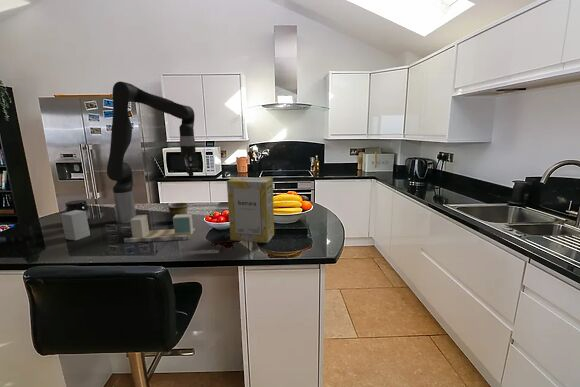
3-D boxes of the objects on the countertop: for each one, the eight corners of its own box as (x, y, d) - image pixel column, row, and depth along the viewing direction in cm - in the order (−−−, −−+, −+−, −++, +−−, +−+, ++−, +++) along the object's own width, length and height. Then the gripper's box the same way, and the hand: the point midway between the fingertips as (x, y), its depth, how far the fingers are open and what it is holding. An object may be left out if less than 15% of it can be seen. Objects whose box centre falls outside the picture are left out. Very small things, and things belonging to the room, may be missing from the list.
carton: (139, 232, 137) (136, 215, 135) (149, 232, 137) (146, 214, 135) (132, 238, 129) (129, 220, 127) (143, 238, 130) (140, 219, 128)
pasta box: (230, 239, 130) (226, 181, 124) (239, 231, 140) (236, 177, 134) (267, 242, 126) (265, 182, 120) (274, 234, 136) (272, 178, 130)
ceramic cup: (192, 221, 156) (191, 204, 154) (175, 226, 149) (173, 208, 147) (181, 217, 165) (180, 200, 163) (164, 221, 158) (162, 204, 156)
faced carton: (174, 235, 132) (172, 217, 130) (177, 232, 137) (175, 214, 135) (191, 235, 133) (189, 217, 131) (193, 231, 137) (191, 214, 135)
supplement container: (63, 224, 155) (59, 203, 152) (83, 218, 165) (79, 198, 162) (76, 226, 151) (71, 205, 149) (95, 220, 161) (91, 200, 158)
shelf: (124, 245, 125) (123, 239, 124) (138, 233, 139) (137, 227, 139) (189, 242, 128) (188, 235, 127) (196, 230, 142) (195, 224, 142)
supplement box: (90, 235, 138) (86, 210, 135) (75, 240, 131) (70, 215, 129) (80, 233, 141) (75, 209, 138) (64, 239, 134) (59, 213, 131)
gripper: (178, 144, 153) (181, 173, 156) (181, 145, 140) (184, 177, 144) (193, 143, 156) (195, 172, 160) (197, 145, 144) (199, 176, 147)
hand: (190, 174), depth 152 cm, fingers open, 8 cm apart
